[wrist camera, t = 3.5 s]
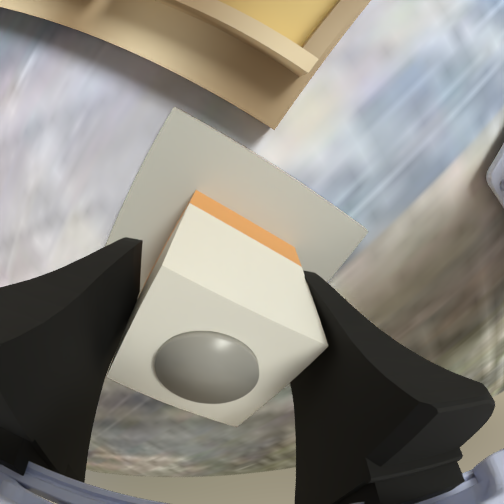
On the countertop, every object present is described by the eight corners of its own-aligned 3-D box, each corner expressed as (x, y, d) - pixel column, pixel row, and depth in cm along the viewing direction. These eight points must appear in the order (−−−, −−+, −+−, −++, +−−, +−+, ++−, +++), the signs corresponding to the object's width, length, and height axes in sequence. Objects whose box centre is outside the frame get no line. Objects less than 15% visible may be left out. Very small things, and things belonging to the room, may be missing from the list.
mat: (364, 227, 11) (368, 231, 11) (250, 360, 14) (250, 366, 14) (176, 106, 9) (173, 107, 9) (92, 284, 12) (89, 289, 12)
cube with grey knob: (294, 247, 11) (330, 352, 6) (236, 322, 13) (236, 432, 8) (196, 189, 10) (159, 270, 5) (146, 277, 11) (104, 382, 7)
